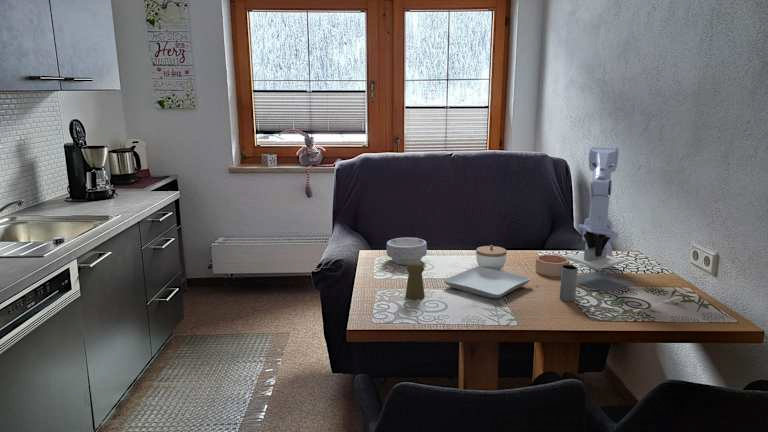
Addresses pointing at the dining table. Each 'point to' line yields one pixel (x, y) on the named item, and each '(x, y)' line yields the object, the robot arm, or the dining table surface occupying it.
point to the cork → (415, 281)
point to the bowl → (550, 264)
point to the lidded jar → (491, 257)
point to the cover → (595, 258)
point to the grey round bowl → (406, 250)
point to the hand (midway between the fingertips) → (595, 255)
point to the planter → (568, 283)
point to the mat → (603, 281)
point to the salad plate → (487, 282)
